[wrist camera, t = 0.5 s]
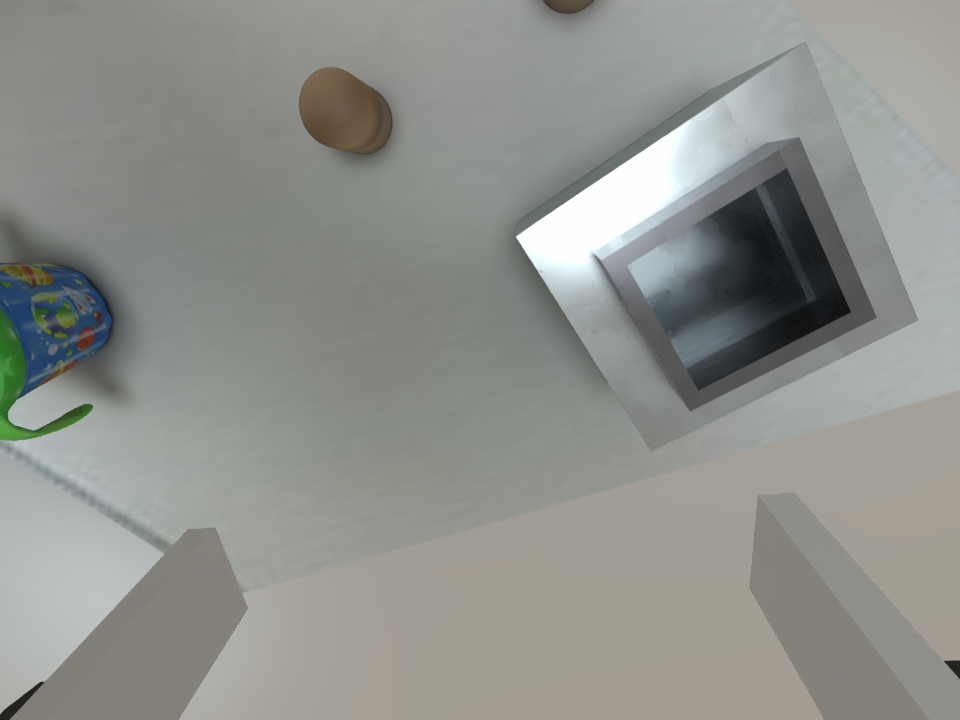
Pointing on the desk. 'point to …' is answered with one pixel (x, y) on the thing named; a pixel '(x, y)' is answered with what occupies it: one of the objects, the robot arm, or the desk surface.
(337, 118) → the pellet
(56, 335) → the snack cup
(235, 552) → the desk surface
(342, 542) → the desk surface
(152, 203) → the desk surface
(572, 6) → the pellet
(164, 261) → the desk surface
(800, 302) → the grey block with socket
